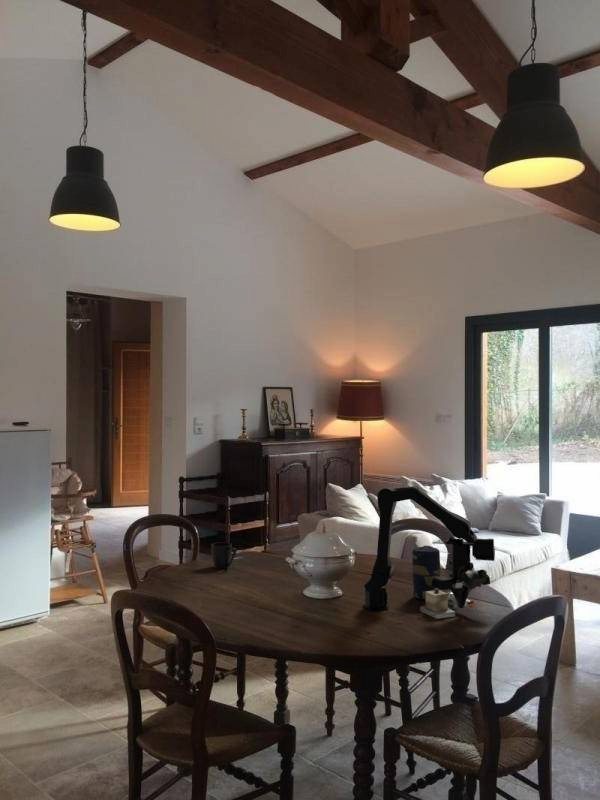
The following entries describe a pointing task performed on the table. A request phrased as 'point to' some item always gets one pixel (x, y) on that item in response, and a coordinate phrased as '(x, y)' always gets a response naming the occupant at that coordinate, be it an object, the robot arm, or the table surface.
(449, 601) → the grey metal flanged disc
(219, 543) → the mug
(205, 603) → the table surface
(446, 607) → the block
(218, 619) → the table surface
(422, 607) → the plate
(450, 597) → the lever
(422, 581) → the canister
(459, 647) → the table surface
